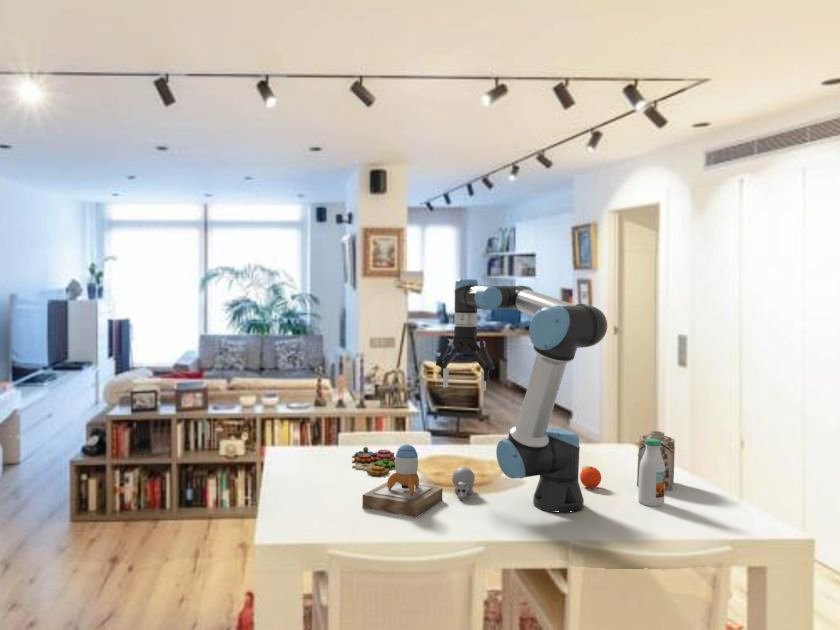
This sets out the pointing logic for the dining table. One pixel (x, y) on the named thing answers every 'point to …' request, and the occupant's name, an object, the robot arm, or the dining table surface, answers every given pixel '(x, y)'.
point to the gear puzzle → (374, 461)
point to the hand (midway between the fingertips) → (464, 389)
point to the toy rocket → (405, 469)
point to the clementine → (590, 477)
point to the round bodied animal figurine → (463, 482)
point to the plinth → (402, 499)
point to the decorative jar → (666, 453)
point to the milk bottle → (652, 475)
